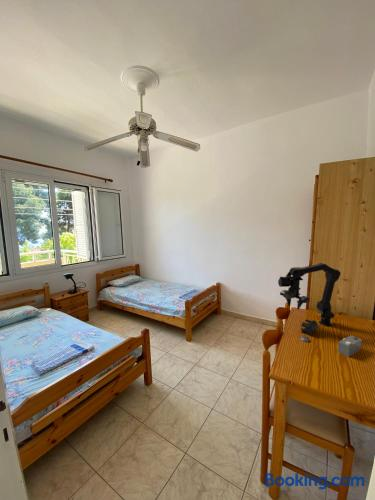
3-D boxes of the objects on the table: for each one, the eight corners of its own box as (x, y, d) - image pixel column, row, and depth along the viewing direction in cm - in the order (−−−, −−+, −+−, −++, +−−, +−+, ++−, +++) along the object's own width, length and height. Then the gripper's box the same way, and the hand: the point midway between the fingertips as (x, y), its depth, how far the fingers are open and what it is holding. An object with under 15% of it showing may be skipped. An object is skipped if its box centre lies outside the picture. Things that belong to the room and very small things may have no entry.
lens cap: (303, 337, 129) (303, 335, 128) (311, 341, 124) (311, 339, 124) (298, 339, 126) (298, 337, 126) (306, 343, 122) (306, 341, 122)
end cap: (312, 337, 128) (313, 327, 127) (300, 332, 133) (301, 323, 132) (318, 331, 134) (318, 321, 133) (306, 327, 140) (306, 317, 139)
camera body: (349, 344, 120) (350, 333, 119) (360, 349, 115) (361, 338, 114) (336, 351, 114) (337, 339, 113) (348, 356, 109) (349, 345, 108)
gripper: (275, 284, 145) (274, 305, 147) (300, 292, 128) (298, 315, 131) (285, 282, 150) (284, 302, 152) (310, 289, 134) (309, 311, 136)
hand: (293, 307), depth 143 cm, fingers open, 6 cm apart
